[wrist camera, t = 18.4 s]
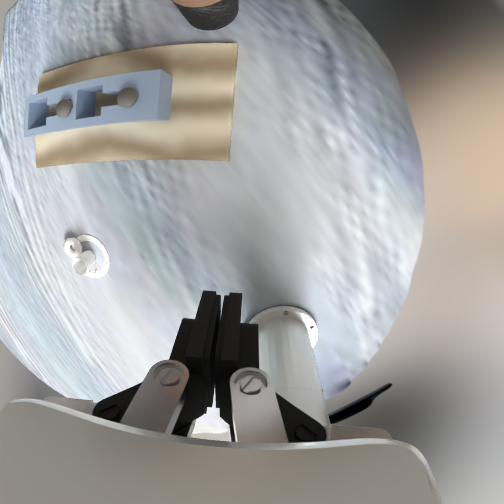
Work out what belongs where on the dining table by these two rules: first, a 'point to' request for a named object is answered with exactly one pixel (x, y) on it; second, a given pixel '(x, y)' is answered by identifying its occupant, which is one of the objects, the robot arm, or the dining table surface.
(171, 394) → the robot arm
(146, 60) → the board
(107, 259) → the white curved piece
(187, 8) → the travel mug
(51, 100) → the blue slotted peg holder
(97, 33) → the dining table surface
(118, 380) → the dining table surface
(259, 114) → the dining table surface
